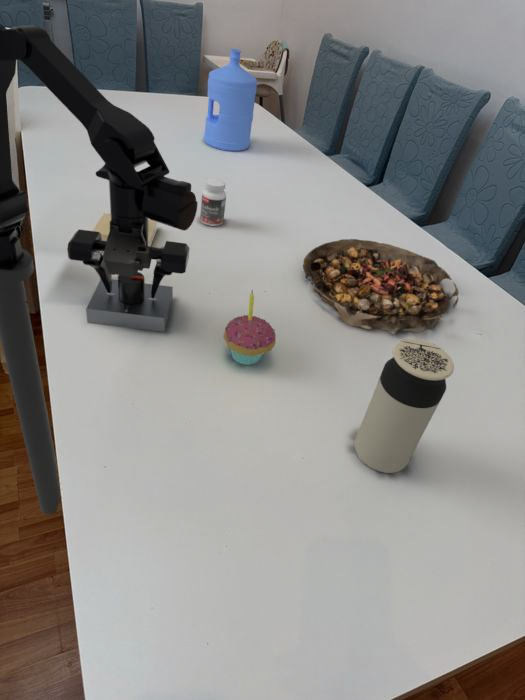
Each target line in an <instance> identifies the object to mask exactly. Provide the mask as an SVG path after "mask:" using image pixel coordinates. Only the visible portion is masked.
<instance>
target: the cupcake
mask: <svg viewBox="0 0 525 700" xmlns="http://www.w3.org/2000/svg"><path fill="white" fill-rule="evenodd" d="M250 293H251V294H250V295H249V303H248V314H244V315H242V316H237V317H234V318H232V320H229V322H228V323H227V325H226V326H225V329H224V332H223V340H224V342H225V343H226V345H227V347H228V348H229V349H230V352H231V357H232V359H233V360H234V362H236V363H238V364H240V365H243V366H252V365H255V364H257V363H258V362H259V361H260V359H261V358H262V356H263V355H264V354H265V353H267V352H270V351H272V349H274V347H275V346H276V342H277V341H276V337H277V334H276V329H275V328H273V326H272V325H271V324H270V322H268V321H266V319H263V318H261V317H258V316H256V315H253V313H254V312H253V311H254V302H255V301H254V300H255V294H254V290H253V289H251V292H250Z"/></svg>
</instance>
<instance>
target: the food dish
mask: <svg viewBox="0 0 525 700" xmlns="http://www.w3.org/2000/svg"><path fill="white" fill-rule="evenodd" d="M302 269H303V272H304V274H305V279H306V280H307V279H308V278H309V277H310V278H311V280H310V279H309V283H310V284H311V286H313V289H314V292H315V293H317V294H318V297H321V298H322V299H321V300H322V302H324V303H325V304H329V306H332V307H333V309H334V311H336V312H337V313H338V315H339V316H340V318H341V320H342V321H343V322H344V323H345V324H346V325H349V326H352V327H356V328H357V327H360V328H362V329H366V330H371V329H377V330H381V331H386V332H389V333H390V334H393V335H396V334H397V333H398V332H412V333H421V332H422V331H424V330H428V329H430V330H431V329H433V328H434V326H436V325H437V323H438V321H440V318H441V317H443V315H442V314H445V313H446V312H447V310H448V309H449V308H450V304H451V300H452V298H453V297H456V300H455V301H454V302H453V304H452V308H453V309H454V308H456V307H457V305H458V303H459V288H458V286H457V285H456V283H455V281H452V280H453V279H452V277H451V275H450V274H449V273H448V272H447V271H446V269H444V268H443V267H441V266H439V265H438V263H437V262H436V261H435V260H434V259H431V258H429V257H426V256H423V255H421V254H418V253H415V252H413V251H411V250H408V249H405V248H402V247H399V246H396V245H392V244H389V243H384V242H382V243H381V242H377V241H373V240H365V239H356V238H349V239H347V238H346V239H339V240H334V241H330V242H325V243H322V244H320V245H318V246H316V247H314V248H313V249H311V250H310V251H308V253H307V254H306V255H305V256H304V259H303V264H302ZM445 279H448V280H450V281H452V284H453V287H454V292H453V293H452V294H451V296H450V294H449V293H446V290H444V287H442V286H441V285H440V284H441V282H442V281H444V280H445Z"/></svg>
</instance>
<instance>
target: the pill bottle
mask: <svg viewBox="0 0 525 700" xmlns="http://www.w3.org/2000/svg"><path fill="white" fill-rule="evenodd" d="M204 182H205V183H204V187H205V188H204V189H203V190H202V193H201V203H200V204H201V206H200V222H201V223H203V224H204V225H207V226H210V227H218V226H221V225H223V223H224V220H225V212H226V211H225V210H226V202H227V193H226V191H225V190H226V182H225V181H224V180H223V179H219V178H215V177H214V178H213V177H212V178H207V179H205V181H204Z"/></svg>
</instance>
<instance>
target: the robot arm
mask: <svg viewBox="0 0 525 700" xmlns="http://www.w3.org/2000/svg"><path fill="white" fill-rule="evenodd" d="M17 61H20V62H22V64H23V65H25V66H26V68H27V69H28V70H29V71H31V73H32V74H33V75H34V76H35V77H36V78H37V79H38V80H39V81H40V82H41V83H42V84H43V85H44V86H45V87H46V89H48V90H49V91H50V92H51V94H53V96H55V98H56V99H57V100H58V101H59V102H60V103H61V104H62V105H63V106H64V107H65V108H66V109H67V110H68V111H69V113H70V114H72V115H73V116H74V117H75V118H76V120H78V121H79V122H80V124H81V125H82V126H83V127H84V129H85V130H86V131H87V135H88V138H89V142H90V145H91V147H92V148H93V149H94V150H95V152H96V153H97V155H98V156H99V157H100V158H101V160H102V162H104V165H102V167H101V168H99V169H98V170H97V171H95V176H96V177H97V178H100V179H103V180H107V181H108V188H109V209H110V214H111V221H110V232H109V235H108V238H107V241H102V238H101V233H100V232H95V231H93V230H86V229H78V230H77V231H76V232H74V234H73V235H72V237H71V238H70V240H69V242H68V243H67V248H66V250H67V257H68V259H69V260H71V261H79V262H82V264H83V265H84V266H89V267H91V268H92V269H94V270H95V272H96V273H97V275H98V276H99V278H100V280H102V282H103V284H104V286H105V288H106V290H107V292H108V293H111V291H112V279H113V276H114V275H117V276H118V275H125V276H127V277H133V276H135V275H136V274H137V272H139V271H141V272H143V270H144V269H147V270H148V269H150V268H151V264H152V260H155V261H156V262H155V266H154V269H153V279H152V283H151V284H152V290H151V298H154V296H155V294H156V291H157V289H158V286H159V285H161V282H162V280H163V278H164V277H166V276H172V275H173V274H180V275H183V274H185V273H186V272H187V267H188V264H189V263H188V262H189V259H190V246H189V245H188V244H187V243H185V242H178V241H170V240H165V243H164V246H161V247H154V246H151V247H150V246H148V219H150V220H153V221H156V222H157V223H160V224H163V225H166V226H168V227H171V228H174V229H177V230H180V231H187V230H188V229H190V228H191V226H192V225H193V223H194V220H195V219H196V215H197V211H198V201H197V197H196V194H195V193H194V192H193V191H192V183H190V182H188V181H184V180H177V179H173V178H170V177H167V175H169V174H170V169H169V167H168V166H167V163H166V162H165V159H164V158H163V156H162V154H161V152H160V151H159V149H158V147H157V145H156V143H155V140H156V139H155V136H154V133H153V132H152V131H151V129H150V128H149V127H148V126H147V125H146V124H145V123H143V122H142V121H141V120H140V119H138V118H137V117H136V116H135V115H133V114H132V113H131V112H129V111H128V110H125V109H123V108H121V107H118V106H117V105H115V104H113V103H112V102H110V101H109V100H108V99H107V98H106V97H105V95H103V94H102V93H101V92H100V90H98V88H96V86H95V85H94V84H93V83H92V82H91V81H90V80H89V79H88V78H87V77H86V76H85V75H84V74H83V73H82V72H81V71H80V69H79V68H78V67H77V66H76V65H74V63H73V62H72V61H71V60H70V59H69V57H67V56H66V55H65V53H63V52H62V50H61V49H59V47H58V46H57V45H56V44H55V43H54V42H53V41H52V39H51V37H50V35H49V34H48V32H47V31H46V30H45V29H44V28H43V27H40V26H38V25H35V24H33V25H32V24H30V25H18V26H12V27H10V28H6V27H5V25H4V24H2V23H0V269H6V270H12V269H13V268H14V267H15V265H16V264H17V263H18V262H19V260H20V259H21V258H22V257H23V255H24V252H22V249H23V248H22V243H21V239H20V237H19V236H18V235H17V231H16V229H17V228H20V227H22V225H23V220H24V219H25V218H26V214H27V213H29V207H28V200H27V199H28V194H27V192H26V191H25V190H21V189H20V188H19V186H18V185H17V184H16V183H15V181H14V180H13V172H12V171H13V170H12V158H11V157H12V156H11V144H10V142H11V141H10V130H9V129H10V128H9V117H8V114H9V113H8V100H7V92H8V90H9V87H10V85H11V83H12V81H13V79H14V77H15V75H16V68H17ZM146 163H147V165H148V166H146V167H145V168H143V169H141V170H139V171H138V170H136V168H137V167H139V166H142V165H144V164H146ZM21 248H22V249H21Z"/></svg>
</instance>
